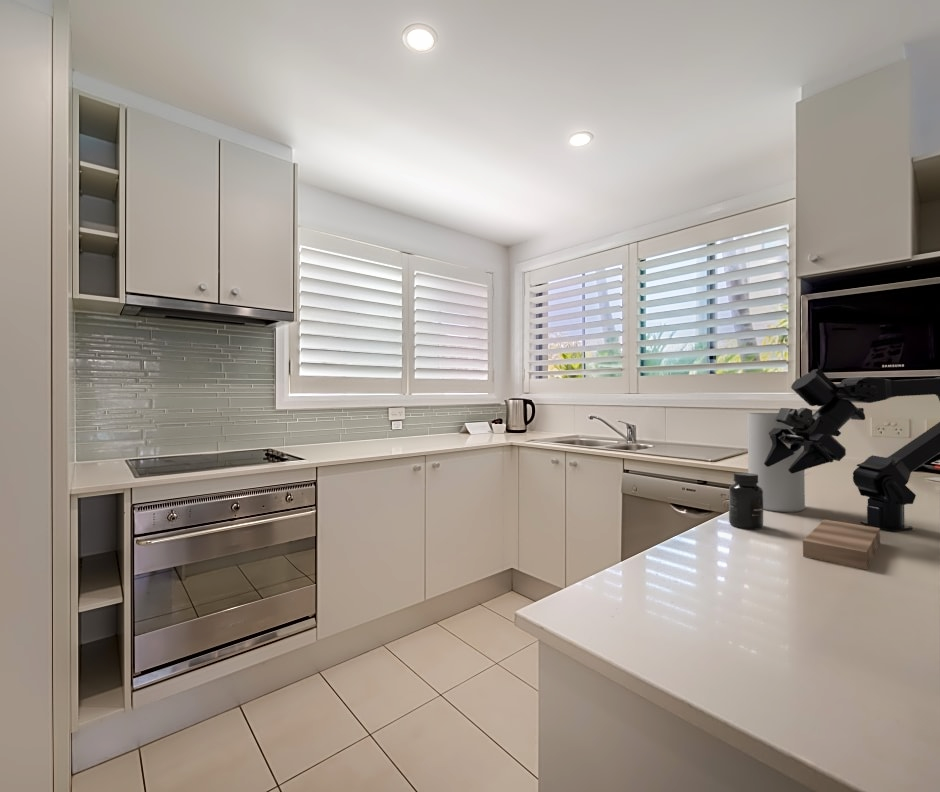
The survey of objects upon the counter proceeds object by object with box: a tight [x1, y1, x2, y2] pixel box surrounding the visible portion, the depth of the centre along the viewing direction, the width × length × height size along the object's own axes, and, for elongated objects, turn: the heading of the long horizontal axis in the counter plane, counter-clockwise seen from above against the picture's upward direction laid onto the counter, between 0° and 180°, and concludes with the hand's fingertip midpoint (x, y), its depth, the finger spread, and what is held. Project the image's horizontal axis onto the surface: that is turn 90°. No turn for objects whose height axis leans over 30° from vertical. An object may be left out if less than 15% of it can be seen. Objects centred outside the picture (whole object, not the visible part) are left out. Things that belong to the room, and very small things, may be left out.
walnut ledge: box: [802, 519, 881, 570], centre depth 88 cm, size 20×9×3 cm, turn 133°
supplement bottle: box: [728, 472, 764, 530], centre depth 105 cm, size 7×7×12 cm
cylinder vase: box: [747, 412, 806, 513], centre depth 122 cm, size 12×12×25 cm
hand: (777, 468), depth 104 cm, fingers open, 9 cm apart
